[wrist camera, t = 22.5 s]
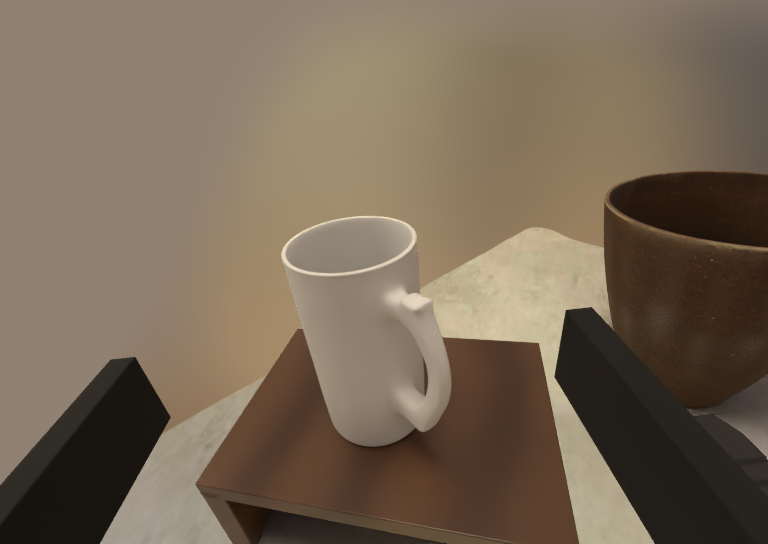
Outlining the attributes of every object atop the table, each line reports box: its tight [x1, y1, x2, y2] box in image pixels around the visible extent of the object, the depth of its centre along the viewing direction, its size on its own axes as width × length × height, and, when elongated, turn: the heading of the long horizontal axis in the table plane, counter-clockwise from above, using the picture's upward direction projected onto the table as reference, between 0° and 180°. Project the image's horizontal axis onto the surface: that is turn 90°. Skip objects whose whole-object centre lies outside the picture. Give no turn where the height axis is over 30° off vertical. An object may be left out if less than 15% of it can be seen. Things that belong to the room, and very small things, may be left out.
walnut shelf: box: [196, 329, 579, 544], centre depth 26 cm, size 20×14×7 cm
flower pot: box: [604, 171, 768, 408], centre depth 28 cm, size 15×15×16 cm
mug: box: [281, 216, 451, 447], centre depth 20 cm, size 10×7×12 cm, turn 36°
